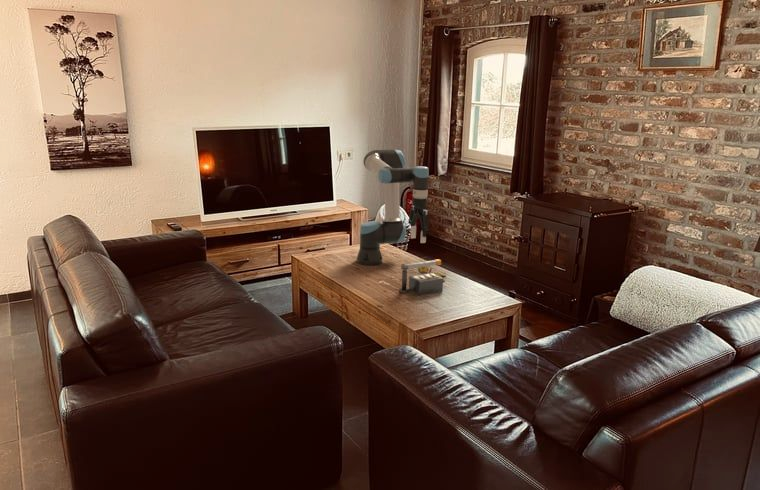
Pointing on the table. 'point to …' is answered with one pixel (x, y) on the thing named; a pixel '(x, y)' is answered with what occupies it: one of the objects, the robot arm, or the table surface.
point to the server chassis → (425, 283)
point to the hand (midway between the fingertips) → (418, 240)
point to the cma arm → (421, 264)
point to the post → (404, 282)
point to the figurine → (425, 270)
